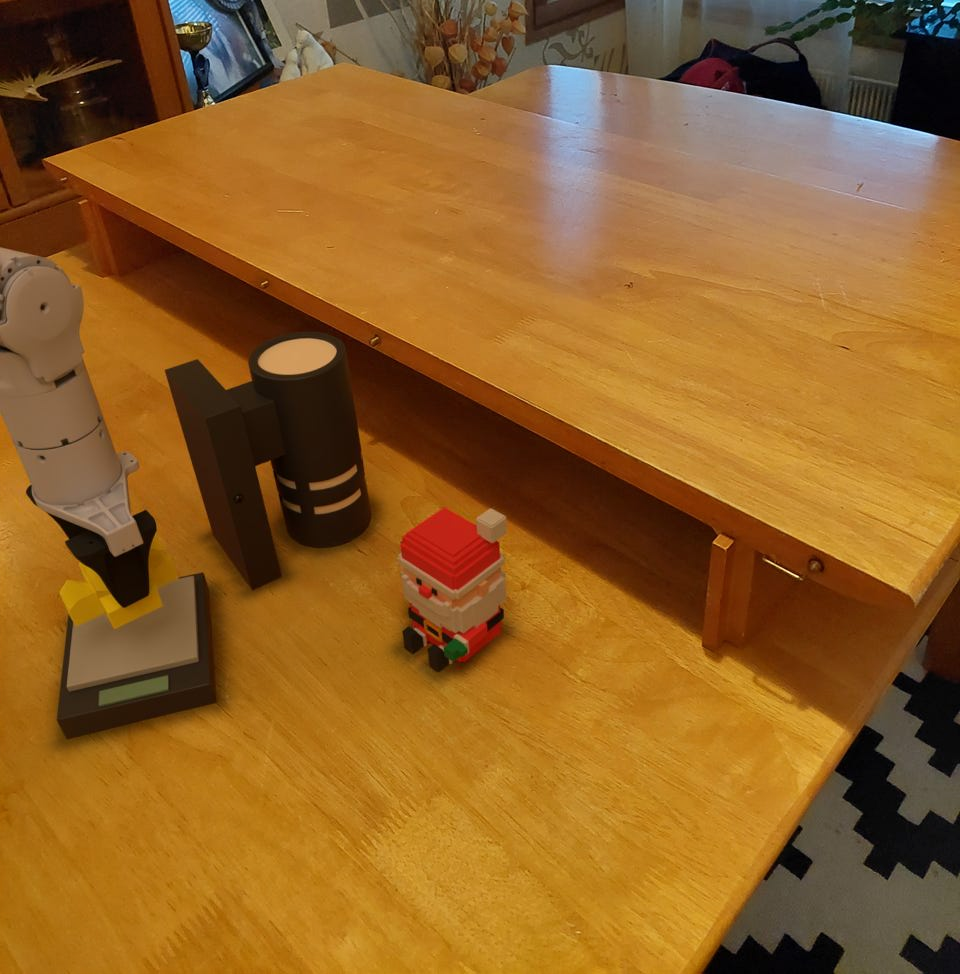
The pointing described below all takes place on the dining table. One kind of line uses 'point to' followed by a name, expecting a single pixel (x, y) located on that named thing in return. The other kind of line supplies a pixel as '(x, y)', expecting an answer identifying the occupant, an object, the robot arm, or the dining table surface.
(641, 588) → the dining table surface
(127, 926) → the dining table surface
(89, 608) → the yellow angular block
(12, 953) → the dining table surface
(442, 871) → the dining table surface
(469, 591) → the figurine
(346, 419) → the light fixture
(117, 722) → the scale
